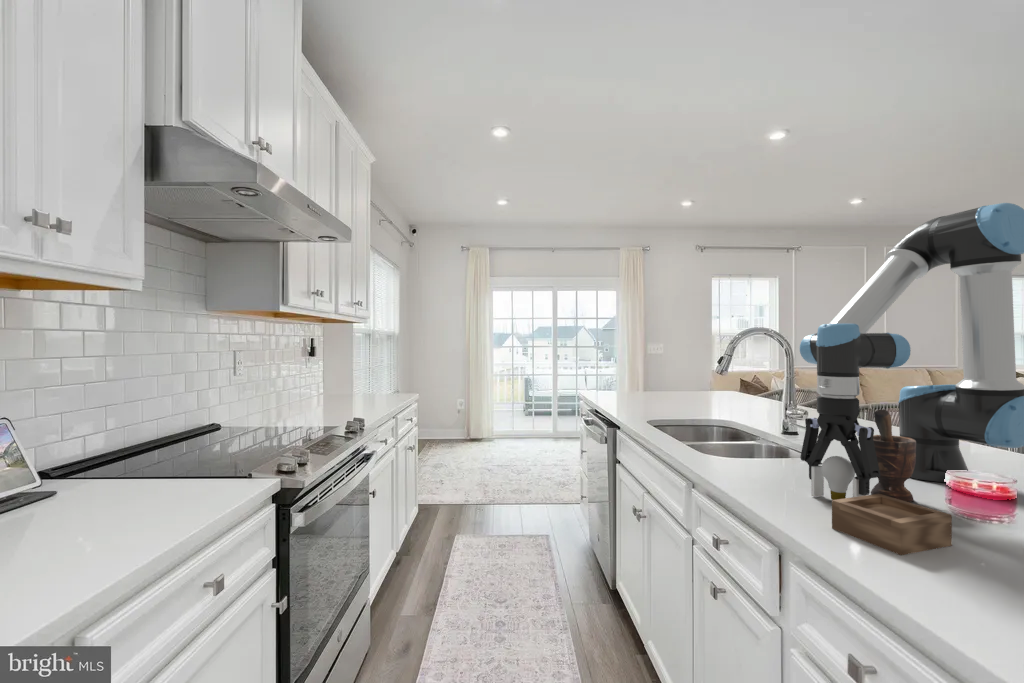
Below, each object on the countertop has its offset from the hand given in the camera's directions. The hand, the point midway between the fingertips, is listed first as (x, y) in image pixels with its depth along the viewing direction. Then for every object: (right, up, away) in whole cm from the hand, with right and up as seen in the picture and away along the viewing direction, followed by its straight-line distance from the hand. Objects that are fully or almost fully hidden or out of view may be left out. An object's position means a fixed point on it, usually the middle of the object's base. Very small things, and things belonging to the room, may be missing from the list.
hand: (837, 502), depth 104 cm
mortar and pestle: (+13, 0, +2) cm, 13 cm away
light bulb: (0, 0, 0) cm, 0 cm away
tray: (-3, 0, -18) cm, 18 cm away
